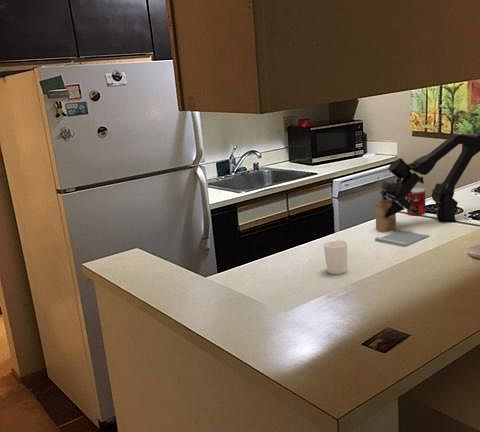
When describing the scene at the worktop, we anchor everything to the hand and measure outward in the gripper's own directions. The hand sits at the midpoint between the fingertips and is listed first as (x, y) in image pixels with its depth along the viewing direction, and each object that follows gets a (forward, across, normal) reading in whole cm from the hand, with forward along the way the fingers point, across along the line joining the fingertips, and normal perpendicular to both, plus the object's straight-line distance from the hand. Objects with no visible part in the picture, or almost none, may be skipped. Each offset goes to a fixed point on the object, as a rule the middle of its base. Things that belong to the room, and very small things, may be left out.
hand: (382, 215), depth 230 cm
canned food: (-12, -16, +21) cm, 29 cm away
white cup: (+28, +37, -18) cm, 50 cm away
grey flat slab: (+3, +14, +6) cm, 16 cm away
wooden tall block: (+4, 0, +6) cm, 7 cm away
